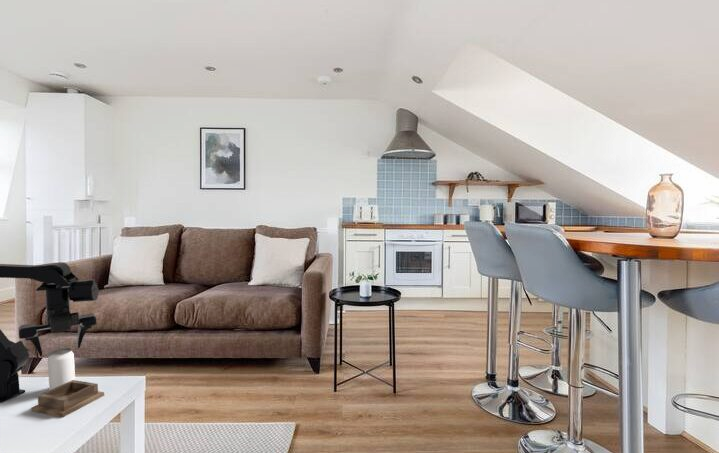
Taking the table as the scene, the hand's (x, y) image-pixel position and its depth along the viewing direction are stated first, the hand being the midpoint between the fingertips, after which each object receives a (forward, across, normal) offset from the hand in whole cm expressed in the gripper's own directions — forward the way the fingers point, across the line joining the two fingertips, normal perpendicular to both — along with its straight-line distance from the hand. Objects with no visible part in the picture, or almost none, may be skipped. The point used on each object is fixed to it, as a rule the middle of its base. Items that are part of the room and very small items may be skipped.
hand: (60, 352), depth 117 cm
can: (+12, 0, 0) cm, 12 cm away
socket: (+12, 0, -13) cm, 17 cm away
